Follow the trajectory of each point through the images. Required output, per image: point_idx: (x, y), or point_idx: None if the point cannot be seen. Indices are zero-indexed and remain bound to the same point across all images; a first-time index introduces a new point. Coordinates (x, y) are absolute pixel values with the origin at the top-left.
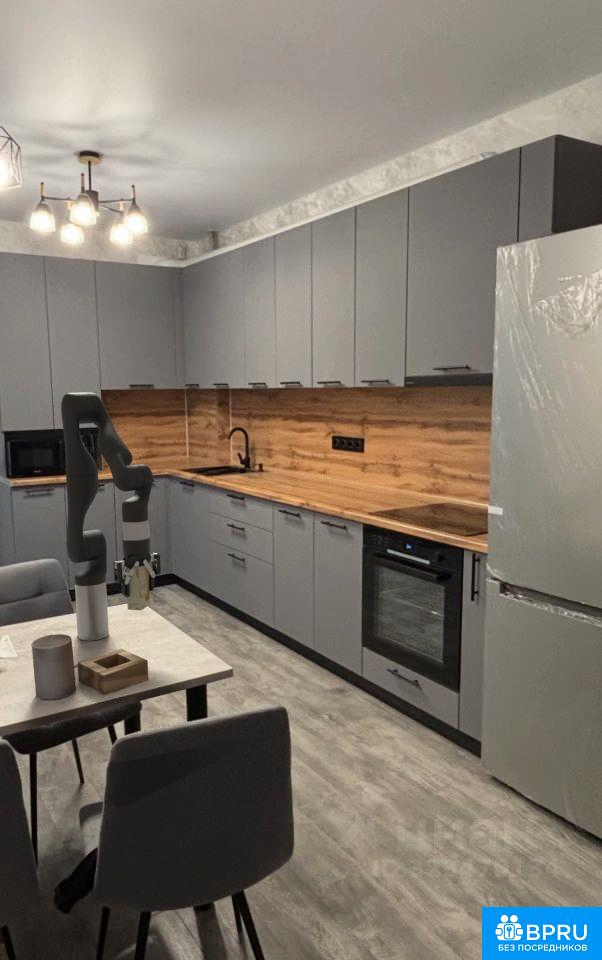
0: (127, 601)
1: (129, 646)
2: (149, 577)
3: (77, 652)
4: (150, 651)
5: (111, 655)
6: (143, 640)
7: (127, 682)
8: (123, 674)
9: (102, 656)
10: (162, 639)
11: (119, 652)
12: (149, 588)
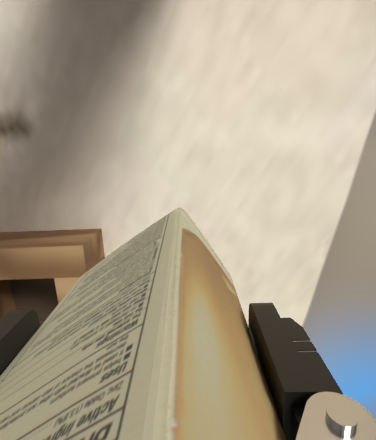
0: (59, 304)
1: (196, 95)
2: (291, 437)
3: (40, 8)
4: (218, 185)
5: (33, 278)
6: (259, 77)
7: None
8: None
9: (7, 266)
10: (306, 119)
11: (62, 274)
12: (252, 338)
